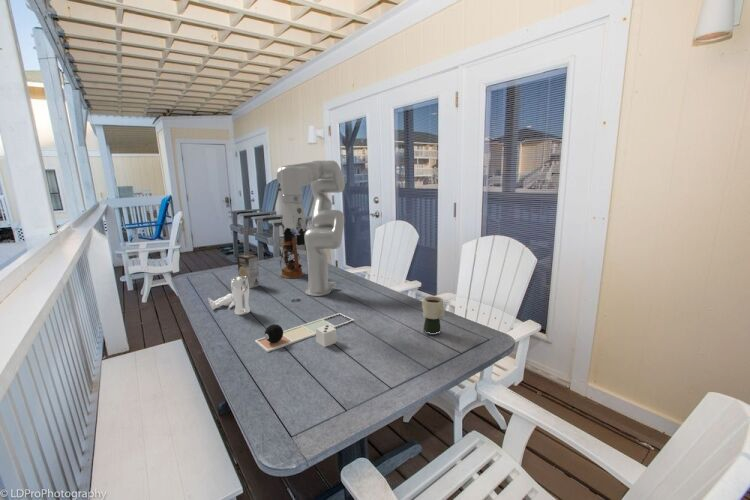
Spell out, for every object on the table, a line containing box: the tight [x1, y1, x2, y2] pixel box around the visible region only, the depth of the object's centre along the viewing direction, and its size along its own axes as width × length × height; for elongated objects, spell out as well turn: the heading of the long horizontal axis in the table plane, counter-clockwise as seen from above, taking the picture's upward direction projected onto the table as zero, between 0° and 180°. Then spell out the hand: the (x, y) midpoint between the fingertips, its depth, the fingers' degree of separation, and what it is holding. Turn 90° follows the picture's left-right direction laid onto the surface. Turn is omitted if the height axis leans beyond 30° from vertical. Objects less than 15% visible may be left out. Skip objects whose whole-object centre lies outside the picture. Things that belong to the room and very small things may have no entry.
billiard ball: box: [264, 323, 284, 343], centre depth 119 cm, size 6×6×6 cm
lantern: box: [279, 231, 304, 279], centre depth 196 cm, size 17×13×30 cm
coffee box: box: [236, 253, 260, 289], centre depth 179 cm, size 9×6×16 cm
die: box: [315, 325, 337, 348], centre depth 119 cm, size 5×5×5 cm
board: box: [254, 312, 355, 353], centre depth 128 cm, size 37×10×1 cm, turn 132°
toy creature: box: [207, 293, 235, 310], centre depth 153 cm, size 12×6×12 cm
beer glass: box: [230, 275, 251, 316], centre depth 144 cm, size 7×7×15 cm
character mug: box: [421, 295, 446, 333], centre depth 126 cm, size 11×7×13 cm, turn 37°
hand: (294, 243), depth 137 cm, fingers open, 9 cm apart
